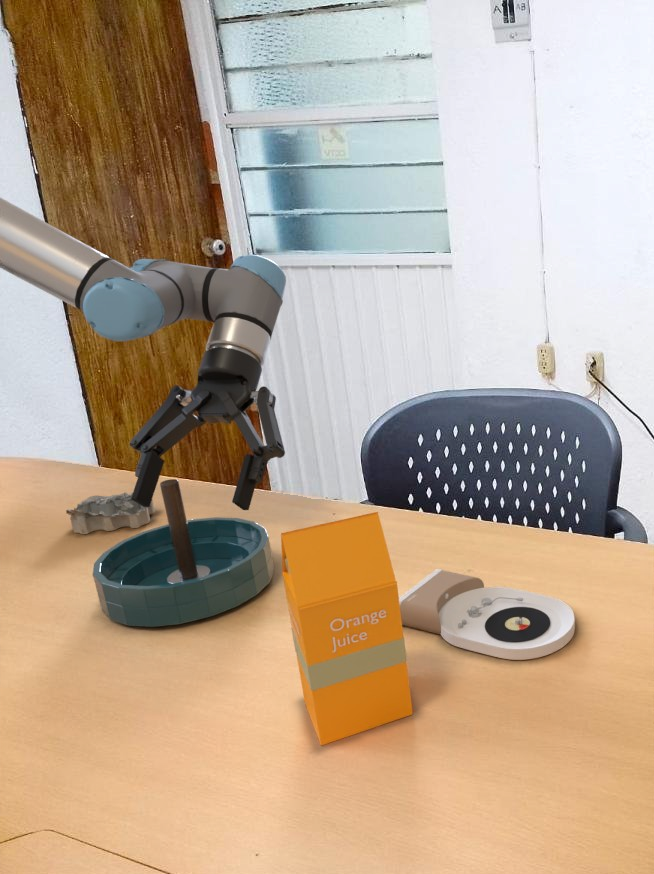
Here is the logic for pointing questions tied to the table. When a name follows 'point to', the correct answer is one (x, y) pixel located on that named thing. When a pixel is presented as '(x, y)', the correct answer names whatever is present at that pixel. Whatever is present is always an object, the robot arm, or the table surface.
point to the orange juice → (346, 626)
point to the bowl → (155, 560)
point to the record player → (487, 616)
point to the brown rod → (180, 535)
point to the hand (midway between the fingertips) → (189, 505)
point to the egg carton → (109, 513)
